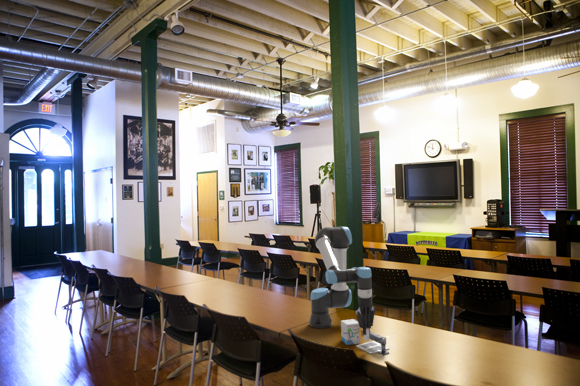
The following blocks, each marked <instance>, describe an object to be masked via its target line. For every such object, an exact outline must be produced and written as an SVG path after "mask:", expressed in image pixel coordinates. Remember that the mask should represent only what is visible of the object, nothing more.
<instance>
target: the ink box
mask: <svg viewBox="0 0 580 386" xmlns="http://www.w3.org/2000/svg"><path fill="white" fill-rule="evenodd" d="M340 331H341V333H340V336H341V337H340V338H341V341H342V342H343V343H344V344H345V345H346V346H349V345H351V346H352V345H359V344H361V328H360V327H359V323H358V320H357V319H355V318H351V319H343V320H340Z"/></svg>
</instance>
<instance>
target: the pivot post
mask: <svg viewBox="0 0 580 386" xmlns="http://www.w3.org/2000/svg"><path fill="white" fill-rule="evenodd" d="M386 345H387V344H386ZM386 345H381V351H378V353H377V354H380V355H382V356H386V355H389V354H390V352H389V351H388V350H386V347H387V346H386Z"/></svg>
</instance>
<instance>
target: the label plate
mask: <svg viewBox="0 0 580 386" xmlns="http://www.w3.org/2000/svg"><path fill="white" fill-rule="evenodd" d="M355 348H357V349H359V350H361V351H364V352H366V353H368V354H370V355H374V354H379V353H378V351H381V344H380V343H378V342H375V341H373V340H371V341H366V342H365V343H359V344H355ZM388 350H391V349H390V347H388V346H386V351H388Z"/></svg>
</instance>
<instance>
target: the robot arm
mask: <svg viewBox="0 0 580 386" xmlns="http://www.w3.org/2000/svg"><path fill="white" fill-rule="evenodd" d="M314 243H315V247H316V248H317V249H318V251H319V254H320V255H321V258H322V261H323V264H324V265H325V269H326V271H325V281H326V283H327V284H331V286H330V289H329V288H326V287H319V288H315V289H313V290H311V292H310V309H311V310H310V317H309V320H308V326H309V325H310V326H311V328H313V327H314V328H313V329H327V328H328V329H329V328H331V327H332V326H333V320H332V318H331V316H330V309H336V308H337V309H338V308H342V309H343V308H347V307H349V306H350V305H352V304H351V303H352V298H353V296H352V295H353V294H352V290H351V289H350V288H349V286H348V285H347V283H348V284H349V283H357V300H358V301H357V303H358V309H357V310H355V311H354V313H355V315H356V317H357V319H356V320H357V322H358V323H359V327H360V329H363V334H364V337H363V340H364V341H365V342H370V339H369V334H370V332H371V329H372V327H373V326H374V319H375V314H376V311H377V308H376V307H374V306H373V297H372V296H373V288H372V285H373V284H372V269H371V268H370V267H368V266H359V267H356V266H354V267H352V268H347V250H348V249H349V248H350V246H349V245H352V243H353V237H352V233H351V230H350V228H349V227H347V226H330V227H327V226H326V227H323V228H320V229H319V230H318V231H317V233H316V234H315V238H314ZM310 326H309V327H310Z"/></svg>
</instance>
